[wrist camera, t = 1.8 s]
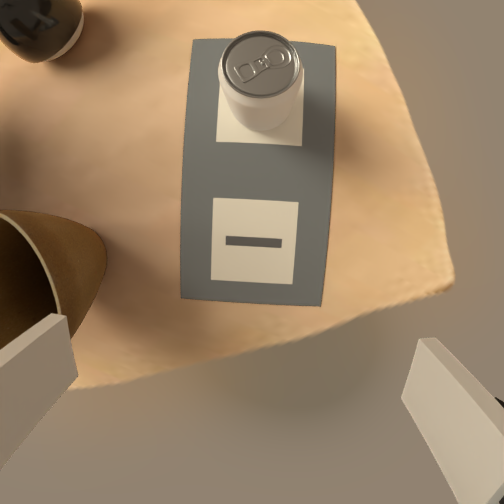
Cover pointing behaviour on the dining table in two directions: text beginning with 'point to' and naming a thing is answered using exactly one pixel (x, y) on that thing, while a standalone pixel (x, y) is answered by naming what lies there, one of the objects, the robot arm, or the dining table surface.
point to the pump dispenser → (40, 27)
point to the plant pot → (46, 271)
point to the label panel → (257, 188)
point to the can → (260, 78)
